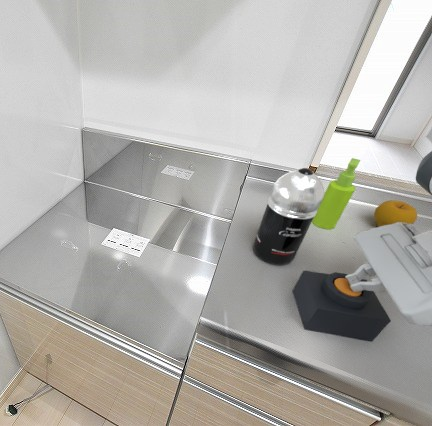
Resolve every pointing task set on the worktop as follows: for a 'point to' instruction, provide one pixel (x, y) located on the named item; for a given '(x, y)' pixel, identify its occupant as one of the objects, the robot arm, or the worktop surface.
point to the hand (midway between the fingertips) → (349, 284)
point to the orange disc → (345, 287)
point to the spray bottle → (288, 216)
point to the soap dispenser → (336, 198)
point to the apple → (394, 213)
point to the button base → (338, 308)
